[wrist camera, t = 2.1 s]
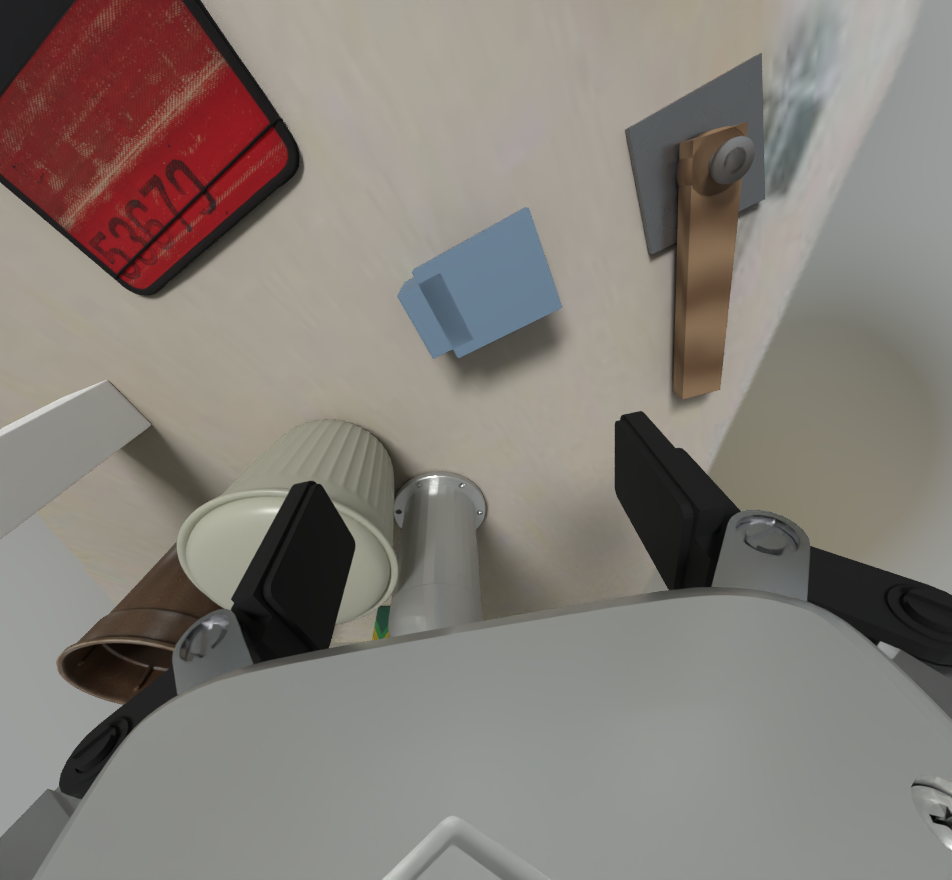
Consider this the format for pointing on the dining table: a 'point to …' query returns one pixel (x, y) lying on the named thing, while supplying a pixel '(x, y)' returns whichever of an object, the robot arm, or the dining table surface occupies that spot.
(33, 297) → the dining table surface
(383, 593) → the canister
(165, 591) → the plant pot
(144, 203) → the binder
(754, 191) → the pintle base
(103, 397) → the milk
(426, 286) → the block
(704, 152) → the latch bar
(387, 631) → the crayon box
